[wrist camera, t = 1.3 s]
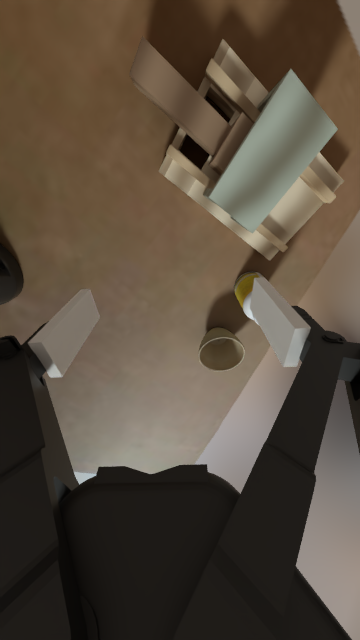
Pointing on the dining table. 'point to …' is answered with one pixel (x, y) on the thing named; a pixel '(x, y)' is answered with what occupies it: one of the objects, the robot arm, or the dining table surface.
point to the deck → (291, 199)
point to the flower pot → (220, 350)
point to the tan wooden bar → (187, 106)
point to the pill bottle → (246, 291)
